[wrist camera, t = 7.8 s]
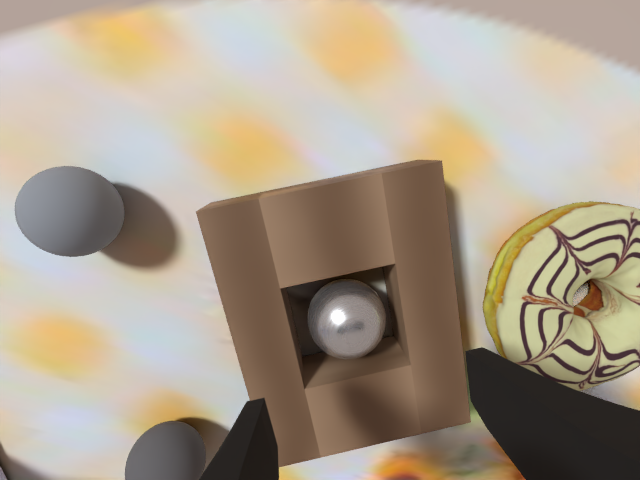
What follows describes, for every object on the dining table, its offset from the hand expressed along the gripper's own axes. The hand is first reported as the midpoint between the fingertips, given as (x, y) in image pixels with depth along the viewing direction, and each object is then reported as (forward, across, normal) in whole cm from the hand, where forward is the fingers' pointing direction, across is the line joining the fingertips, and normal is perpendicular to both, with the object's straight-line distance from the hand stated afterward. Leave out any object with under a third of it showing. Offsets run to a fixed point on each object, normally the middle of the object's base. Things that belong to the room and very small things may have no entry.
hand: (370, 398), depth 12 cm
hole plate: (+8, 0, 0) cm, 8 cm away
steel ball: (+6, 0, 0) cm, 6 cm away
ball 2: (+6, +11, +6) cm, 14 cm away
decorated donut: (+8, -13, +2) cm, 16 cm away
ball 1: (+6, +11, -8) cm, 15 cm away
